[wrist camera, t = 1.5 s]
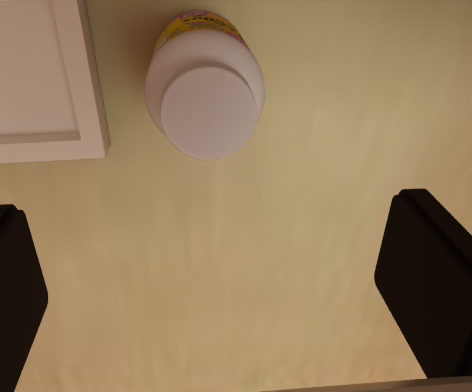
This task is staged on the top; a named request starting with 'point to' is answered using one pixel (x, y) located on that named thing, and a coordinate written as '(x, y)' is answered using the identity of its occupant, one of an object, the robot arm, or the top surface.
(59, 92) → the ceramic tray
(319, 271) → the top surface
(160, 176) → the top surface
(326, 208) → the top surface
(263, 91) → the supplement bottle
